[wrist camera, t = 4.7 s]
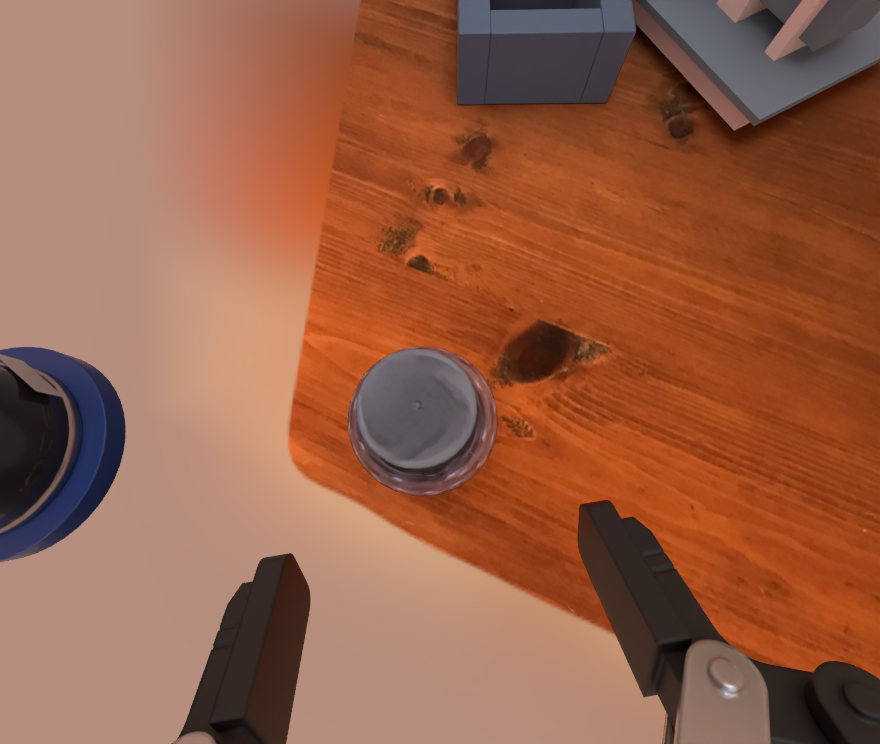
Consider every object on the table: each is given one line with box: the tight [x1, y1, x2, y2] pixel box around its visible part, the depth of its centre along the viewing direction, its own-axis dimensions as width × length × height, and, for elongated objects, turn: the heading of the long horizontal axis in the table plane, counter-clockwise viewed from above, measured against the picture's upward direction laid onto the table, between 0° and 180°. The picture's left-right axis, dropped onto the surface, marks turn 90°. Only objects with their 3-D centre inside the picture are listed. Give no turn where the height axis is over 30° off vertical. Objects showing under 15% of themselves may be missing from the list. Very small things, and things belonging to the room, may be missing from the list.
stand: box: [457, 0, 636, 104], centre depth 29 cm, size 11×11×5 cm
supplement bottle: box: [348, 347, 497, 496], centre depth 19 cm, size 6×6×11 cm
